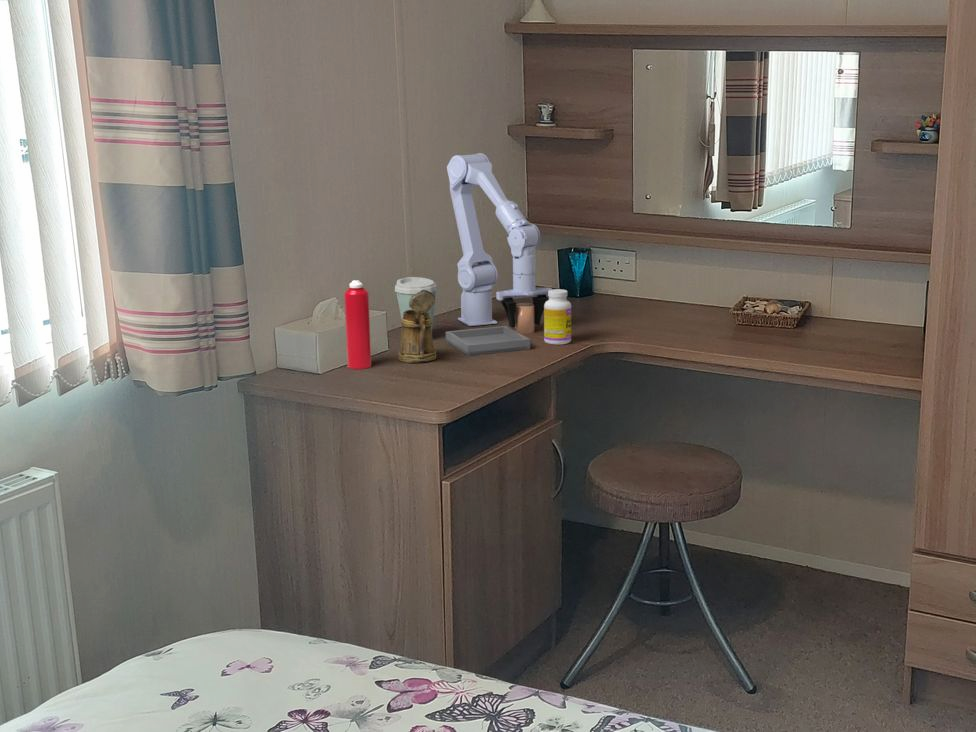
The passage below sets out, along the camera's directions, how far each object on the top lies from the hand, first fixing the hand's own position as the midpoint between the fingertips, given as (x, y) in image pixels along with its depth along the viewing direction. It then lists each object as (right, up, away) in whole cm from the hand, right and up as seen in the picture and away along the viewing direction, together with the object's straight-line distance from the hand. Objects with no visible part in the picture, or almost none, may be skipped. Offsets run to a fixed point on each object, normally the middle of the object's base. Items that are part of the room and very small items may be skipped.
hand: (524, 325), depth 301 cm
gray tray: (-10, -5, -13) cm, 17 cm away
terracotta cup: (0, -2, 0) cm, 2 cm away
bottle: (-39, -11, -31) cm, 51 cm away
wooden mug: (-25, -9, -27) cm, 39 cm away
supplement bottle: (+8, -5, -11) cm, 14 cm away
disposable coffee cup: (-27, -4, -6) cm, 28 cm away
